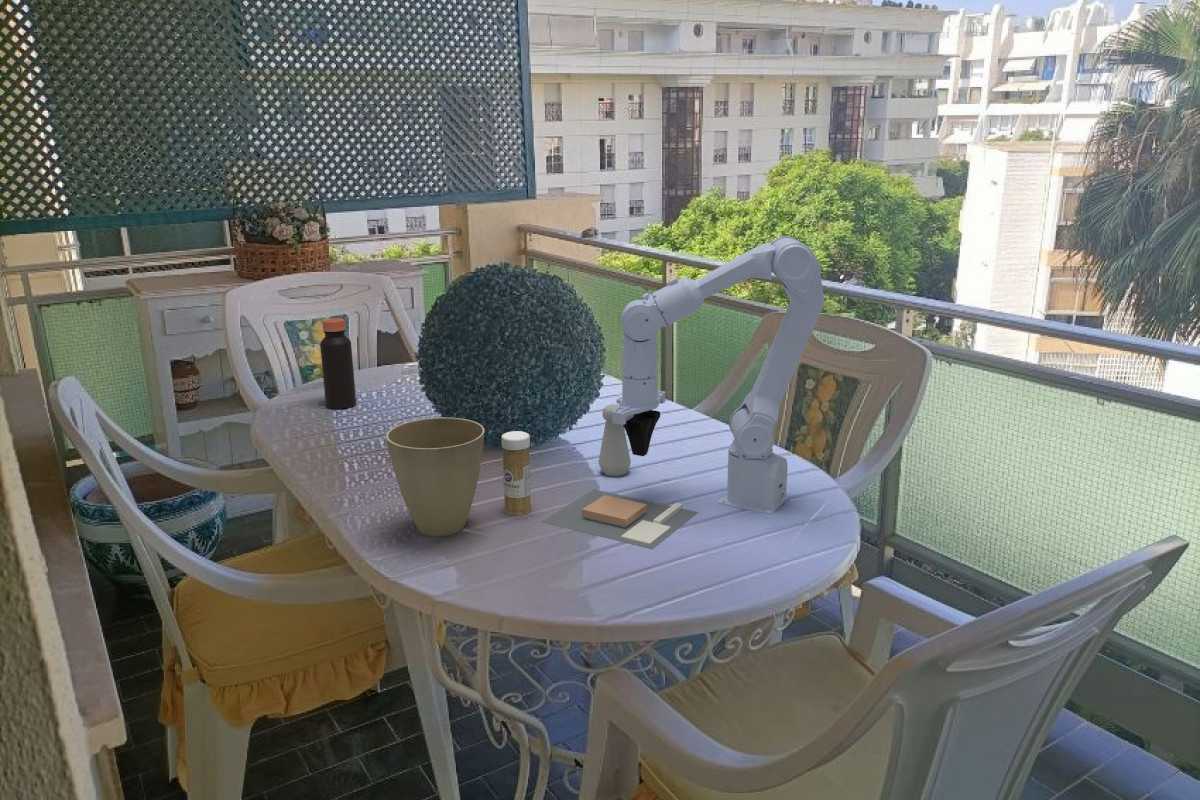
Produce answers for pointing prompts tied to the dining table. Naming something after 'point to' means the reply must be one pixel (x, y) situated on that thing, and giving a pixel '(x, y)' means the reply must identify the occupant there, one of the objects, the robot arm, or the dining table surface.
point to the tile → (614, 511)
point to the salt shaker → (613, 446)
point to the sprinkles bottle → (516, 472)
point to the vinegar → (337, 365)
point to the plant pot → (437, 470)
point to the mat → (575, 521)
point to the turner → (652, 527)
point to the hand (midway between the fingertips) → (639, 454)
